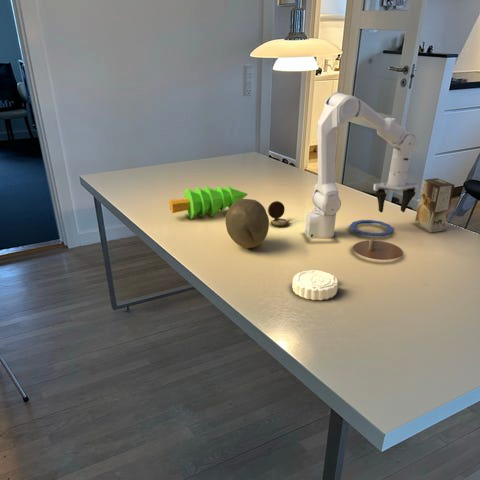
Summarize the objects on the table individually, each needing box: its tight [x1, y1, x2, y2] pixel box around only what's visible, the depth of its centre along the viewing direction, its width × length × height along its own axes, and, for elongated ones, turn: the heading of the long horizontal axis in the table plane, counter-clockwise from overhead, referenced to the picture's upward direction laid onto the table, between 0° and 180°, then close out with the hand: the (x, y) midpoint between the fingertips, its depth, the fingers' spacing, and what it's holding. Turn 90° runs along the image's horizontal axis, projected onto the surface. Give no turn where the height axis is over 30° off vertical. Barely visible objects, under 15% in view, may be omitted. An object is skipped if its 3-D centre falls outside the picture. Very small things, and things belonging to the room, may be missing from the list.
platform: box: [352, 238, 404, 261], centre depth 152 cm, size 15×15×4 cm
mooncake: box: [291, 269, 339, 301], centre depth 130 cm, size 12×12×4 cm
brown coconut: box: [225, 198, 270, 249], centre depth 153 cm, size 14×14×15 cm
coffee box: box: [414, 177, 455, 233], centre depth 169 cm, size 9×6×16 cm
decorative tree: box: [168, 185, 249, 220], centre depth 179 cm, size 11×12×30 cm
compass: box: [267, 200, 294, 228], centre depth 173 cm, size 8×8×7 cm
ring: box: [349, 219, 394, 237], centre depth 168 cm, size 14×14×2 cm
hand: (391, 211), depth 165 cm, fingers open, 7 cm apart
